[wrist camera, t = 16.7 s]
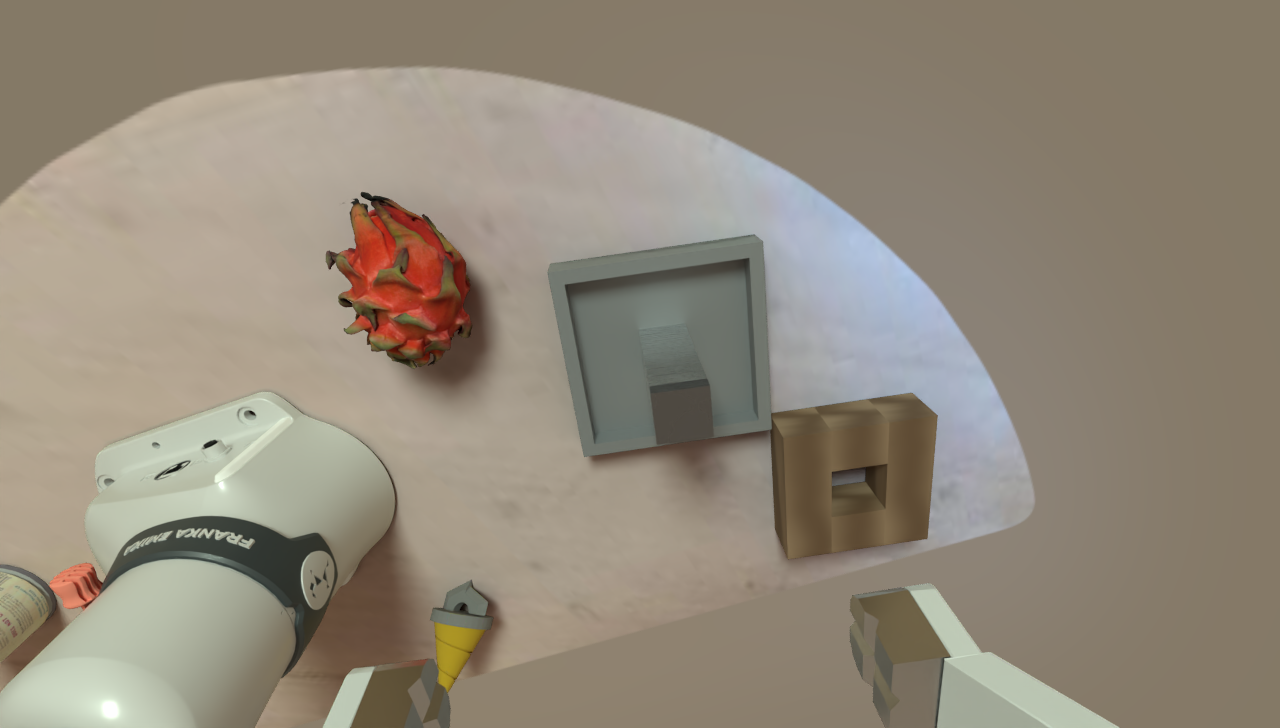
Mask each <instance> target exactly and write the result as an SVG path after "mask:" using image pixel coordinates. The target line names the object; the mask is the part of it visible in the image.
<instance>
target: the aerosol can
mask: <svg viewBox="0 0 1280 728" xmlns="http://www.w3.org/2000/svg"><path fill="white" fill-rule="evenodd" d="M55 609H56V599H55V596H54V594H53V591H52V590H51V589H50V588H49V586H48V585H47V584H46V583H45V582H44V581H43V580H41V579H40V578H38V577H37V576H36V575H34V574H32V573H30V572H28V571H25V570H23V569H21V568H17V567H13V566H8V565H0V663H1V662H2V661H3V660H4V659H5V658H6V657H7V656H8V655H10V654H11V653H12V652H13V651H14V650H15V649H16V648H17V647H18V646H19V645H20V644H22V643H23V642H24V641H25V640H26V639H27V638H28V637H29V636H30V635H31V634H32V633H33V632H35V631H36V630H37V629H38V628H39V627H40V626H41V625H42V624H43V623H44V622H45V621H46V620H48V619H49V618H50V617H51V616H52V614H53V613H54V611H55Z"/></svg>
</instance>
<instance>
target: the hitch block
mask: <svg viewBox="0 0 1280 728" xmlns="http://www.w3.org/2000/svg"><path fill="white" fill-rule="evenodd" d="M937 417H938V415H936V414H935V413H934V412H933V411H932V410H931V409H930V408H929V407H928V406H926V405H925V404H924V403H923V402H922V401H921V400H920V399H919V398H917V397H916V396H915V395H914V394H913V393H907V394H900V395H894V396H887V397H880V398H873V399H866V400H859V401H853V402H846V403H839V404H832V405H825V406H818V407H812V408H805V409H798V410H791V411H784V412H777V413H771V424H772V429H771V430H770V433H771V454H772V475H773V496H774V517H775V530H776V532H777V534H778V537H779V539H780V542H781V544H782V546H783V549H784V551H785V553H786V556H787V558H788V559H794V558H801V557H807V556H814V555H821V554H828V553H835V552H841V551H848V550H855V549H862V548H868V547H875V546H882V545H889V544H895V543H902V542H909V541H916V540H922V539H927V537H928V525H929V513H930V501H931V489H932V477H933V465H934V453H935V441H936V429H937ZM861 467H866V477H865V482H859V483H852V484H845V485H838V486H832V472H834V471H841V470H848V469H855V468H861Z"/></svg>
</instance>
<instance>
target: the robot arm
mask: <svg viewBox="0 0 1280 728" xmlns="http://www.w3.org/2000/svg"><path fill="white" fill-rule="evenodd" d="M249 410H251V411H253V412H254V413H255V414H256V416H254V415H252V414H251V413H250V412H249ZM95 480H96V485H97V489H98V492H99V495H98V496H97V497H96V498H95V499H94V500H93V501H92V502H91V503H90V505H89V506H88V508H87V511H86V514H85V521H84V526H85V533H86V537H87V541H88V543H89V546H90V549H91V551H92V553H93V555H94V557H95V559H96V561H97V562H98V564H99V566H100V568H101V569H102V571H103V572H104V574H105V575H106V578H105V580H104V582H103V583H102V582H100V581H99V580H98V578H97V575H96V571H95V569H94V567H93V566H92V564H90V563H83V564H78V565H75V566H73V567H70V568H69V569H67V570H64V571H62V572H61V573H60V574H59V575H57V576H55V577H54V578H53V579H54V580H51V582H50V584H51V585H49V586H50V588H51V589H52V590H53V591H54V592H55V593H56V594H57V595H58V596H60V597H61V599H62V600H63V606H64V607H65V608H68V609H73V608H78V607H80V606H81V607H82V609H83V610H84V611H83V612H82V613H81V614H79V615H78V616H77V617H76V618H75V619H74V620H73V621H72V622H71V623H70V624H69V625H68V626H67V627H66V628H65V629H64V630H63V631H62V632H61V633H60V634H59V635H58V636H57V637H56V638H55V639H54V640H53V641H52V642H51V643H50V644H48V645H47V646H46V647H45V648H44V649H43V650H42V651H41V652H40V653H39V654H38V655H37V656H36V657H35V658H34V659H33V660H32V661H31V662H30V663H29V664H28V665H27V666H26V667H25V668H24V669H23V670H22V671H21V672H19V673H18V674H17V675H16V676H15V677H14V678H13V679H12V680H11V681H10V682H9V683H8V684H7V685H6V686H5V688H4V689H3V690H2V691H1V693H0V728H255V726H256V724H257V722H258V720H259V718H260V716H261V714H262V712H263V710H264V708H265V707H266V705H267V703H268V701H269V699H270V697H271V695H272V693H273V692H274V690H275V688H276V686H277V684H278V683H279V681H280V679H281V678H282V677H284V676H285V675H286V674H287V673H288V672H290V671H291V669H292V668H293V667H294V666H295V665H296V663H297V662H298V660H299V658H300V657H301V655H302V654H303V652H304V651H305V649H306V647H307V645H308V643H309V642H310V640H311V638H312V637H313V635H314V633H315V631H316V630H317V628H318V626H319V624H320V622H321V620H322V618H323V616H324V614H325V611H326V609H327V606H328V604H329V602H330V600H331V599H332V598H333V596H334V595H335V594H336V592H337V591H338V589H339V588H340V587H341V586H343V585H345V584H347V583H348V582H349V580H350V579H351V578H352V576H353V575H354V573H355V572H356V570H357V567H358V565H359V562H360V560H361V559H362V558H363V557H364V556H365V555H366V553H367V552H368V551H369V550H370V549H371V548H372V547H373V546H374V545H375V544H376V543H377V542H378V541H379V540H380V539H381V538H382V537H383V535H384V534H385V533H386V531H387V530H388V528H389V526H390V524H391V522H392V519H393V515H394V510H395V495H394V489H393V486H392V482H391V480H390V477H389V475H388V473H387V471H386V469H385V468H384V466H383V465H382V463H381V462H380V460H379V459H378V458H377V457H376V456H375V455H374V453H373V452H372V451H371V450H370V449H369V448H367V447H366V446H365V445H364V444H363V443H362V442H360V441H359V440H358V439H356V438H355V437H353V436H352V435H350V434H348V433H346V432H345V431H343V430H341V429H339V428H337V427H334V426H332V425H329V424H327V423H324V422H321V421H318V420H315V419H313V418H310V417H308V416H306V415H304V414H302V413H301V412H300V411H299V410H297V409H296V408H295V407H294V406H292V405H291V404H290V403H288V402H287V401H286V400H284V399H283V398H281V397H279V396H278V395H276V394H273V393H270V392H260V393H256V394H253V395H251V396H248V397H245V398H242V399H239V400H236V401H233V402H230V403H227V404H225V405H222V406H219V407H216V408H213V409H210V410H207V411H204V412H202V413H199V414H196V415H193V416H190V417H187V418H184V419H181V420H179V421H176V422H173V423H170V424H167V425H164V426H161V427H158V428H155V429H153V430H150V431H147V432H144V433H141V434H138V435H135V436H132V437H130V438H127V439H124V440H121V441H118V442H115V443H113V444H110V445H108V446H106V447H105V448H104V449H103V450H102V451H100V452H99V453H98V455H97V457H96V462H95ZM850 611H851V613H852V615H853V617H854V619H855V622H854V623H853V624H852V625H851V626H850V643H851V647H852V653H853V657H854V660H855V662H856V665H857V668H858V670H859V672H860V675H861V677H862V679H863V680H864V681H865V682H867V683H868V684H870V685H871V686H872V687H873V703H874V705H875V707H876V709H877V711H878V713H879V716H880V718H881V720H882V722H883V724H884V726H885V728H1119V727H1117V726H1116V725H1114V724H1112V723H1111V722H1109V721H1107V720H1105V719H1104V718H1102V717H1100V716H1099V715H1097V714H1095V713H1093V712H1091V711H1090V710H1088V709H1087V708H1085V707H1083V706H1082V705H1080V704H1078V703H1077V702H1075V701H1073V700H1071V699H1070V698H1068V697H1066V696H1065V695H1063V694H1061V693H1059V692H1057V691H1056V690H1054V689H1053V688H1051V687H1049V686H1048V685H1046V684H1044V683H1042V682H1041V681H1039V680H1037V679H1036V678H1034V677H1032V676H1030V675H1029V674H1027V673H1025V672H1024V671H1022V670H1020V669H1019V668H1017V667H1015V666H1013V665H1012V664H1010V663H1008V662H1007V661H1005V660H1003V659H1001V658H1000V657H998V656H996V655H995V654H993V653H991V652H986V653H982V652H981V650H980V649H979V648H978V646H977V645H976V643H975V642H974V641H973V639H972V638H971V637H970V635H969V634H968V632H967V631H966V629H965V628H964V627H963V625H962V624H961V623H960V621H959V620H958V618H957V617H956V616H955V614H954V613H953V611H952V610H951V609H950V607H949V606H948V604H947V603H946V602H945V600H944V599H943V597H942V596H941V595H940V593H939V592H938V591H937V589H936V588H935V587H934V586H933V585H931V584H930V583H928V584H922V585H915V586H909V587H904V588H894V589H888V590H882V591H876V592H869V593H863V594H857V595H852V598H851V600H850ZM438 674H439V670H438V667H437V665H436V663H435V661H434V659H424V660H416V661H407V662H399V663H391V664H383V665H377V666H369V667H362V668H354V669H352V670H351V671H350V672H349V673H348V675H347V676H346V677H345V679H344V681H343V684H342V686H341V688H340V690H339V692H338V695H337V697H336V699H335V701H334V703H333V706H332V708H331V710H330V712H329V714H328V717H327V719H326V721H325V723H324V725H323V728H449V726H450V703H449V696H448V693H447V691H446V688H445V687H444V686H442V685H441V684H439V683H437V682H436V681H437V677H438Z"/></svg>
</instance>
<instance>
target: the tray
mask: <svg viewBox="0 0 1280 728" xmlns="http://www.w3.org/2000/svg"><path fill="white" fill-rule="evenodd" d="M547 273H548V278H549V283H550V288H551V293H552V298H553V303H554V308H555V313H556V318H557V323H558V328H559V334H560V339H561V344H562V349H563V354H564V359H565V364H566V369H567V374H568V379H569V384H570V389H571V394H572V399H573V404H574V409H575V414H576V419H577V424H578V429H579V434H580V439H581V444H582V449H583V454H584V457H587V456H594V455H601V454H608V453H614V452H621V451H628V450H635V449H642V448H649V447H655V446H662V445H669V444H676V443H683V442H689V441H683V442H676V443H669V444H661V445H657V443H656V437H655V431H654V425H653V420H652V414H651V408H650V402H649V396H648V391H647V385H646V379H645V373H644V366H643V358H642V350H641V342H640V334H639V329H646V328H653V327H661V326H668V325H676V324H683V323H685V325H686V327H687V330H688V332H689V335H690V337H691V340H692V342H693V345H694V347H695V350H696V352H697V355H698V357H699V359H700V362H701V364H702V367H703V369H704V372H705V374H706V377H707V379H708V382H709V384H710V391H711V404H712V417H713V429H714V437H713V438H717V437H724V436H730V435H737V434H744V433H751V432H758V431H765V430H771V429H772V424H771V402H770V381H769V359H768V338H767V316H766V295H765V273H764V252H763V241H762V240H760V239H759V238H758V237H757V236H755V235H748V236H741V237H734V238H727V239H720V240H713V241H706V242H699V243H692V244H685V245H678V246H672V247H665V248H658V249H651V250H644V251H637V252H630V253H623V254H616V255H609V256H602V257H595V258H588V259H581V260H575V261H568V262H561V263H554V264H550V266H549V269H548V272H547ZM705 439H710V438H705ZM698 440H703V439H698ZM691 441H696V440H691Z"/></svg>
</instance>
